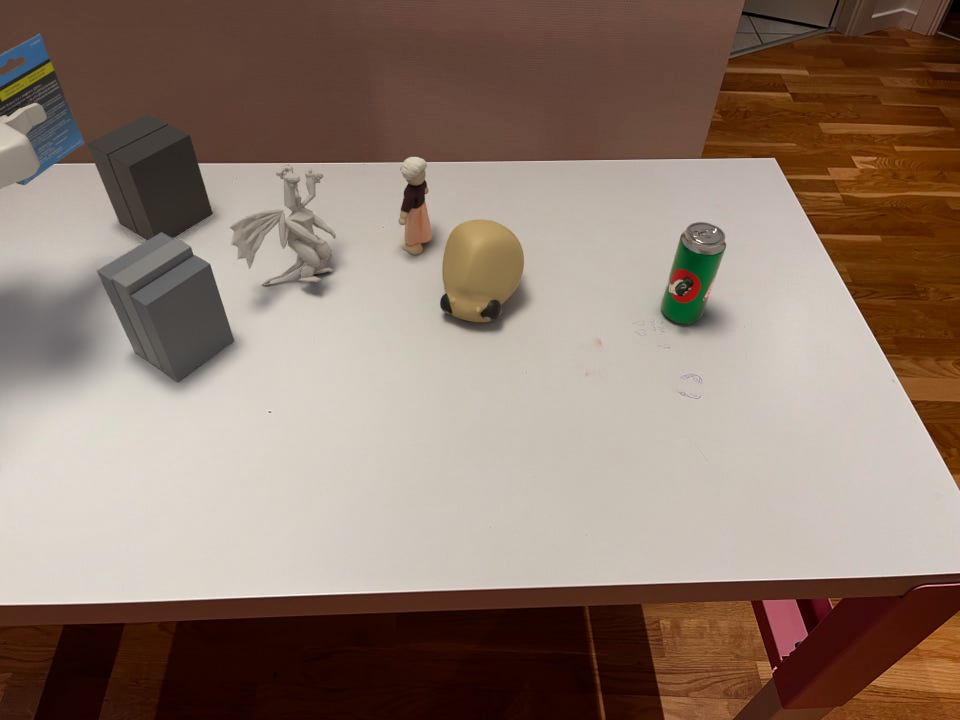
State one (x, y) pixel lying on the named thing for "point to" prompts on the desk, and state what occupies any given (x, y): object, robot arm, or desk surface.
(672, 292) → the soda can
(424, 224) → the grandmother figurine
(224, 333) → the grey upright block
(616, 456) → the desk surface
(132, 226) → the dark grey block
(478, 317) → the tan toy animal
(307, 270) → the dragon figurine
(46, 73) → the blue retail box
